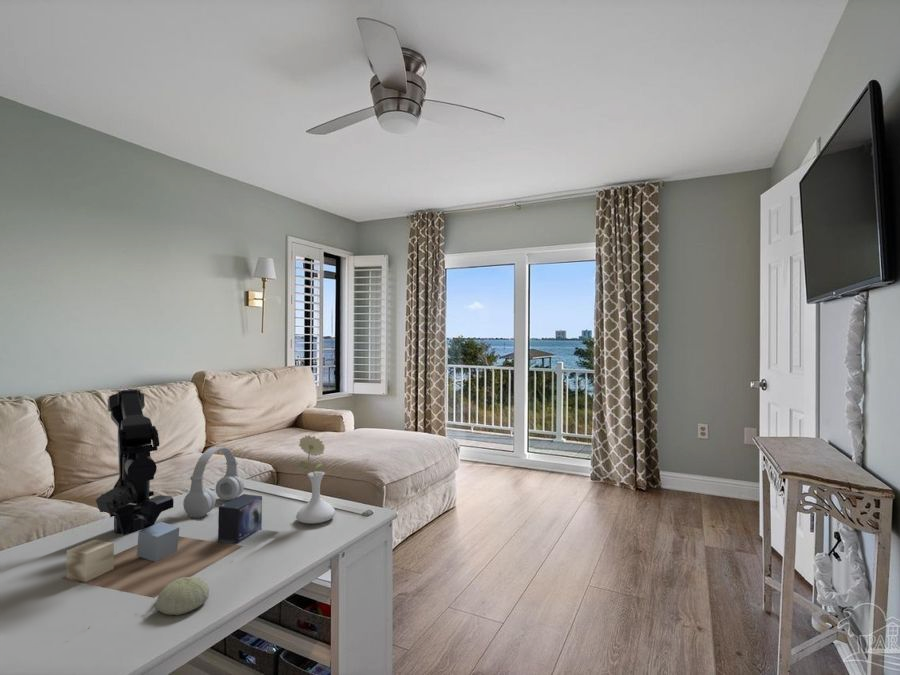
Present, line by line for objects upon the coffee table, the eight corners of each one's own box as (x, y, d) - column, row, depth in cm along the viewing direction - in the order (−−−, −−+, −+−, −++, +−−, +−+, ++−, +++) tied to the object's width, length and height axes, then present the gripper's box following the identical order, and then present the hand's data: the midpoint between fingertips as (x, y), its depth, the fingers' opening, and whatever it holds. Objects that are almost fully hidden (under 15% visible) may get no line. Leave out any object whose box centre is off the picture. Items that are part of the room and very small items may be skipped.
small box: (238, 548, 118) (238, 508, 118) (216, 546, 120) (216, 506, 120) (263, 532, 128) (263, 494, 129) (242, 530, 130) (242, 493, 130)
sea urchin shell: (174, 615, 86) (159, 577, 89) (159, 636, 89) (144, 598, 92) (221, 592, 94) (205, 558, 97) (205, 612, 96) (191, 578, 100)
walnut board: (60, 584, 101) (60, 578, 101) (162, 538, 125) (162, 533, 125) (154, 603, 93) (154, 597, 93) (243, 550, 117) (243, 546, 117)
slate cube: (136, 555, 110) (138, 531, 110) (158, 545, 116) (161, 521, 116) (155, 562, 109) (157, 536, 108) (177, 551, 114) (179, 527, 114)
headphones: (222, 496, 159) (222, 441, 160) (245, 497, 158) (245, 441, 158) (181, 518, 139) (181, 454, 140) (207, 519, 138) (207, 455, 139)
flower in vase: (343, 517, 139) (343, 435, 140) (314, 530, 129) (314, 441, 130) (314, 509, 146) (314, 430, 147) (284, 521, 136) (284, 437, 137)
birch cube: (66, 578, 101) (66, 550, 101) (94, 565, 107) (94, 539, 107) (85, 582, 99) (86, 554, 100) (113, 569, 105) (113, 542, 105)
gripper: (75, 478, 110) (73, 544, 110) (133, 486, 104) (131, 555, 104) (121, 466, 120) (119, 526, 120) (175, 473, 115) (174, 536, 115)
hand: (135, 536), depth 114 cm, fingers open, 6 cm apart
